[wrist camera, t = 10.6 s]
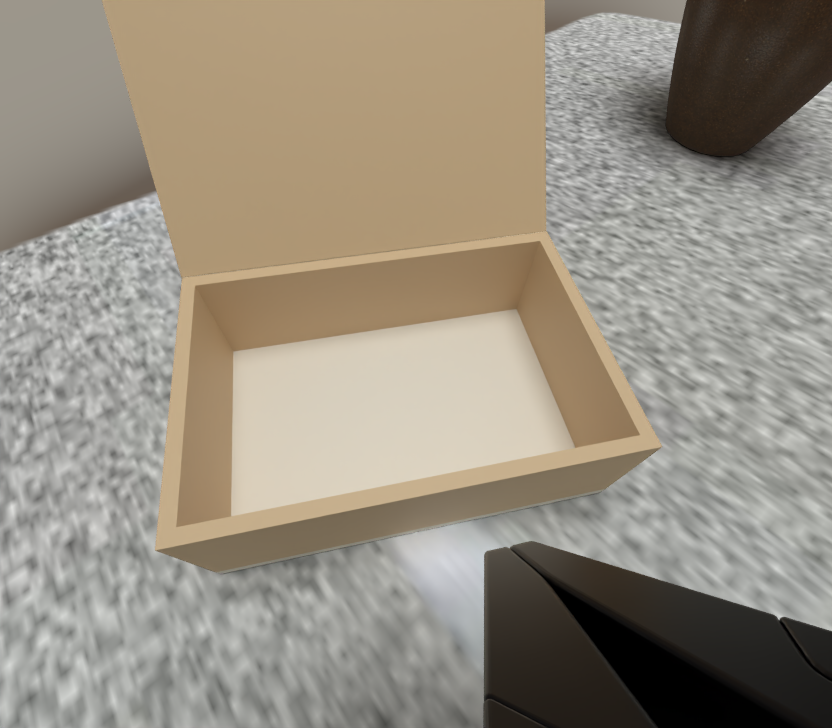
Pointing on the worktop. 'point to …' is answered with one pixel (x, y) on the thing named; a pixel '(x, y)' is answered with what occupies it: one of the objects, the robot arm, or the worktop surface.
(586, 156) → the worktop surface
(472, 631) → the worktop surface
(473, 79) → the mailer lid
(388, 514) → the mailer box
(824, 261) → the worktop surface
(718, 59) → the plant pot
